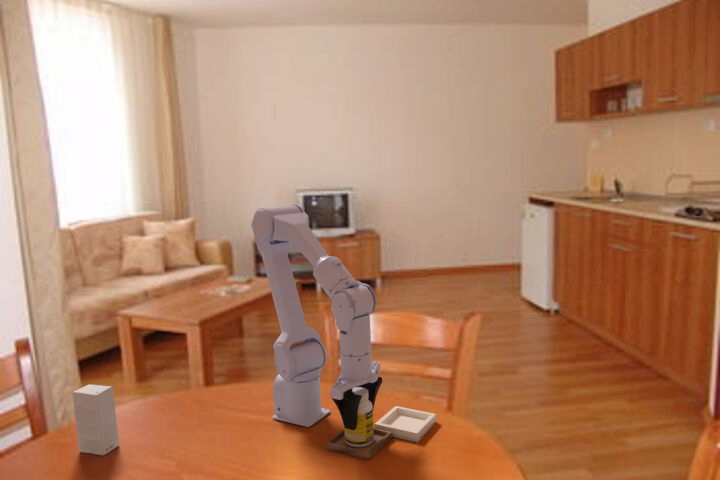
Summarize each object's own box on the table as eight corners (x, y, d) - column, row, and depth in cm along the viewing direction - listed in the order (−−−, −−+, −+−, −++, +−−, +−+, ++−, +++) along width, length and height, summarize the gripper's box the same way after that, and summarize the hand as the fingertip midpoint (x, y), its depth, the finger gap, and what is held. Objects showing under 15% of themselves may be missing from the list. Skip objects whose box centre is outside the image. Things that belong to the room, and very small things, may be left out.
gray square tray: (326, 449, 104) (326, 443, 104) (351, 428, 112) (351, 422, 112) (368, 460, 100) (368, 453, 99) (392, 438, 107) (392, 432, 107)
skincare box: (120, 445, 109) (114, 386, 107) (103, 456, 105) (96, 395, 103) (95, 441, 111) (88, 383, 109) (78, 452, 107) (71, 392, 105)
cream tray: (375, 432, 110) (374, 423, 109) (395, 414, 117) (395, 405, 117) (417, 442, 105) (417, 433, 105) (436, 422, 113) (436, 414, 113)
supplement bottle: (371, 449, 102) (368, 398, 101) (342, 447, 104) (339, 396, 102) (376, 434, 108) (374, 386, 106) (348, 433, 109) (346, 385, 107)
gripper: (354, 367, 95) (357, 443, 97) (393, 342, 107) (395, 410, 109) (319, 361, 99) (323, 435, 100) (361, 337, 111) (363, 403, 113)
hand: (358, 421), depth 105 cm, fingers closed on supplement bottle, 5 cm apart
